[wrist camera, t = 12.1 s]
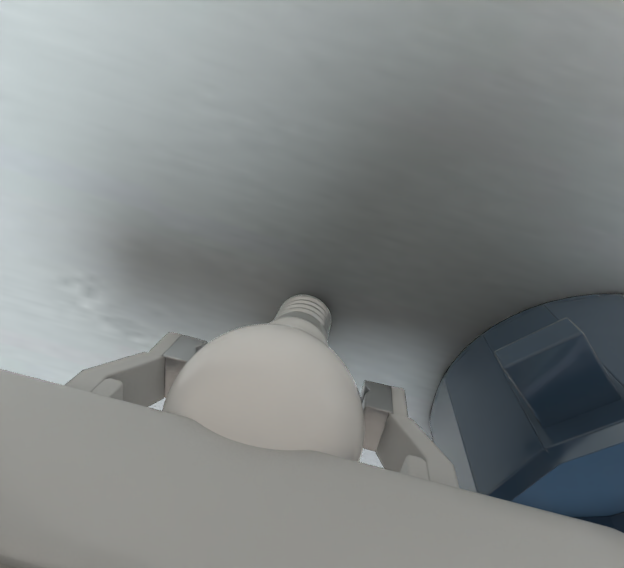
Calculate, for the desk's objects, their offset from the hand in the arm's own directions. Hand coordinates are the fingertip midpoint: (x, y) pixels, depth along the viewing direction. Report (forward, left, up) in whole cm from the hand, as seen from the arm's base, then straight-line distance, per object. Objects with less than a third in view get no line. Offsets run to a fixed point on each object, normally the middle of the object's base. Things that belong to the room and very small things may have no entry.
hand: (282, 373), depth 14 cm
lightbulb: (0, 0, -5) cm, 5 cm away
